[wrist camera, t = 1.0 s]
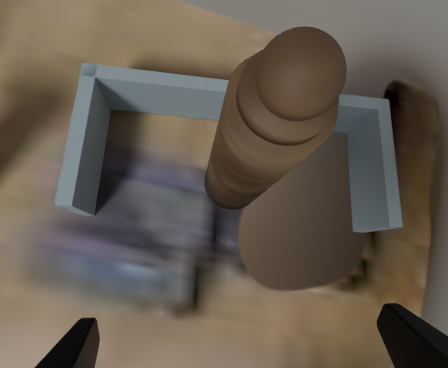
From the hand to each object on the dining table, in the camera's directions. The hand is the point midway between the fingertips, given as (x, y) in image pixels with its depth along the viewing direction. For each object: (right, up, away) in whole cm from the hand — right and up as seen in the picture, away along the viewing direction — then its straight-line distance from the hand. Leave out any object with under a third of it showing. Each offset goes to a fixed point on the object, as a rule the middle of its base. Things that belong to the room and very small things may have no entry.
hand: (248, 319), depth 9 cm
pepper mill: (0, +4, +15) cm, 16 cm away
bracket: (0, +6, +15) cm, 16 cm away
